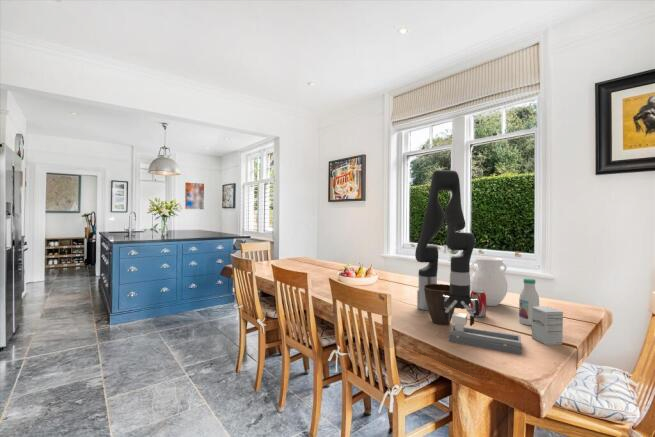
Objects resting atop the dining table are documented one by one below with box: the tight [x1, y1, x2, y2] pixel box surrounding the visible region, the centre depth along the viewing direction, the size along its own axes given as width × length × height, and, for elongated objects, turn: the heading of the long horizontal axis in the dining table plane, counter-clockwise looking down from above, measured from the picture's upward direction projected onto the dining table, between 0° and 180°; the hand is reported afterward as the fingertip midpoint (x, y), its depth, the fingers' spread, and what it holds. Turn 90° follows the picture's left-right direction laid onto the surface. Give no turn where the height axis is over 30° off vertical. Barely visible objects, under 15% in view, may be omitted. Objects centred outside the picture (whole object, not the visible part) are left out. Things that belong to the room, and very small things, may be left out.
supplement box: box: [531, 305, 564, 346], centre depth 127 cm, size 7×7×13 cm
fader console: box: [448, 324, 522, 355], centre depth 126 cm, size 24×12×4 cm, turn 61°
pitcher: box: [470, 256, 509, 307], centre depth 180 cm, size 19×18×25 cm
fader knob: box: [451, 311, 468, 332], centre depth 130 cm, size 5×5×7 cm
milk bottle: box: [518, 277, 540, 327], centre depth 147 cm, size 8×8×20 cm
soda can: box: [469, 290, 487, 318], centre depth 159 cm, size 7×7×12 cm
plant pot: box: [424, 283, 456, 326], centre depth 149 cm, size 15×15×16 cm
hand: (459, 323), depth 130 cm, fingers open, 8 cm apart
